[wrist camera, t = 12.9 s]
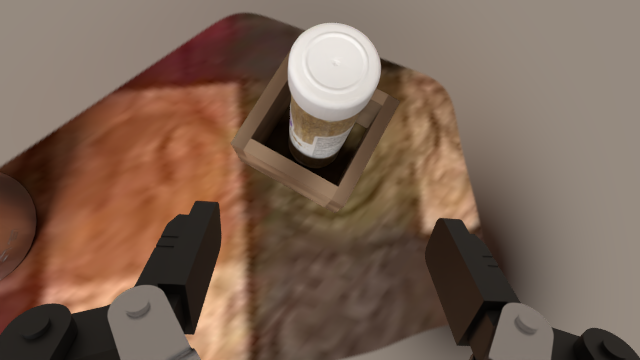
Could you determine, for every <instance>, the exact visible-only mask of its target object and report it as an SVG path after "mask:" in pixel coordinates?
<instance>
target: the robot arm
mask: <svg viewBox="0 0 640 360" xmlns="http://www.w3.org/2000/svg"><path fill="white" fill-rule="evenodd" d="M36 222H37V220H36V210H35V207H34V204H33V201H32V198H31V196H30V195H29V193H28V192H27V190H26V189H25V188H24V187H23V186H22V185H21V184H20V183H19V182H18V181H17V180H15V179H13V178H12V177H10V176H8V175H6V174H4V173H0V280H2V279H3V278H4V277H5V276H7V275H8V274H9V273H11V272H12V271H13V270H14V269H15V268H16V267H17V266H18V264H19V263H20V262H21V261H22V260H23V259H24V257H25V255H26V254H27V252H28V250H29V249H30V247H31V244H32V241H33V238H34V235H35V230H36ZM220 246H221V222H220V209H219V203H218V202H208V201H196V202H195V203H194V205H193V207H192V209H191V211H190V214H189V215H183V214H179V215H177V216H176V217H175V218H174V219H173V220H171V221H170V222H169V223H168V224H167V226H166V227H165V229H164V231H163V233H162V235H161V238H160V239H159V241H158V243H157V245H156V248H154V250H153V252H152V254H151V256H150V258H149V260H148V262H147V264H146V265H145V267H144V269H143V271H142V273H141V275H140V277H139V279H138V281H137V283H136V284H135V286H134V287H133V288H130V289H128V290H126V291H125V292H123V293H121V294H120V295H119V296H118V297H117V298H116V299H115V300H114V301H113V302H112V304H110V305H107V306H104V307H100V308H96V309H91V310H87V311H82V312H78V313H73V314H71V312H70V311H69V309H68V308H67V307H66V306H63V305H61V304H44V305H40V306H37V307H34V308H32V309H29V310H28V311H26V312H24V313H22V314H21V315H19V316H18V317H16V318H15V319H14V320H13V321H12V322H11V323H10V324H9V325H8V326H7V327H6V328H5V329H4V331H3V332H2V333H1V335H0V360H201V359H200V357H199V355H198V354H197V352H196V350H195V349H194V348H193V349H192V348H191V347H190V345H189V343H188V341H187V339H186V337H185V335H184V334H192V335H194V333H195V330H196V327H197V323H198V320H199V317H200V313H201V310H202V307H203V304H204V300H205V297H206V294H207V290H208V287H209V284H210V281H211V277H212V274H213V271H214V267H215V264H216V261H217V258H218V254H219V251H220ZM492 257H493V256H492V254H491V253H490V251H489V249H488V248H487V246H486V244H484V243H483V242H482V241H481V240H480V239H479V238H478V237H477V236H476V235H475V234H470V233H469V232H468V230H467V228H466V226H465V225H464V223H463V221H462V220H460V219H447V218H439V219H438V220H437V222H436V224H435V226H434V229H433V232H432V234H431V237H430V239H429V242H428V244H427V247H426V251H425V259H426V264H427V267H428V269H429V272H430V275H431V277H432V280H433V283H434V285H435V288H436V291H437V294H438V296H439V299H440V302H441V304H442V307H443V310H444V312H445V315H446V318H447V320H448V323H449V326H450V328H451V331H452V333H453V336H454V339H455V342H456V344H457V345H459V346H471V349H472V352H473V354H472V355H471V357H470V359H469V360H640V358H639V356H638V355H637V354H636V353H635V351H634V350H633V349H632V348H631V347H630V346H629V345H628V344H627V343H626V342H624V341H623V340H622V339H620V338H619V337H617V336H616V335H614V334H612V333H610V332H608V331H606V330H602V329H598V328H590V329H587V330H586V331H585V332H584V333H583V334H582V335H581V336H576V335H573V334H570V333H567V332H564V331H561V330H558V329H555V328H552V327H551V326H550V324H549V323H548V322H547V320H546V319H545V318H544V317H543V316H542V315H541V314H539V313H538V312H537V311H536V310H534V309H532V308H531V307H529V306H526V305H524V304H521V303H520V301H519V300H518V298H517V296H516V294H515V293H514V291H513V289H512V288H511V286H510V284H509V283H508V281H507V279H506V278H505V276H504V274H503V273H502V271H501V269H500V268H498V264H497V263H496V261H495V259H493V258H492Z"/></svg>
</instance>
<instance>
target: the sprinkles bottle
mask: <svg viewBox="0 0 640 360" xmlns="http://www.w3.org/2000/svg"><path fill="white" fill-rule="evenodd" d="M380 75H381V63H380V58H379V55H378V52H377V50H376V48H375V46H374V44H373V43H372V42H371V41H370V39H369V38H368V37H367V36H366V35H364V34H363V33H362V32H361V31H359V30H357V29H356V28H354V27H352V26H349V25H346V24H341V23H323V24H319V25H316V26H313V27H311V28H309V29H308V30H306V31H305V32H304V33H302V34H301V35H300V36H299V37H298V39H297V40H296V41H295V43H294V44H293V46H292V48H291V51H290V54H289V61H288V85H289V88H290V92H291V104H290V126H289V132H290V134H289V138H288V146H289V150H290V152H291V154H292V156H293V157H294V159H295V160H296V161H297V162H299V163H300V164H301V165H303V166H306V167H309V168H321V167H325V166H327V165H329V164H330V163H331V162H333V161H334V160H335V159H336V157H337V155H338V153H339V151H340V148H341V147H342V145H343V143H344V142H345V140H346V138H347V136H348V134H349V133H350V131H351V129H352V127H353V125H354V123H355V122H356V120H357V117H358V114H359V112H360V111H361V110H362V109H363V108H364V107H365V106H366V105H367V104H368V102H369V100H370V99H371V97H372V95H373V93H374V91H375V89H376V87H377V85H378V83H379V79H380Z"/></svg>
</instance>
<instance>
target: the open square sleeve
mask: <svg viewBox="0 0 640 360" xmlns="http://www.w3.org/2000/svg"><path fill="white" fill-rule="evenodd" d="M290 51H291V50H290ZM290 51H289V53H288V55H287V56H286V58H285V59H284V61H283V62H282V64H281V65H280V67H279V69H278V70H277V72H276V73H275V75H274V76H273V78H272V80H271V81H270V83H269V84H268V86H267V87H266V89H265V90H264V92H263V94H262V95H261V97H260V98H259V100H258V101H257V103H256V104H255V106H254V108H253V109H252V111H251V112H250V114H249V115H248V117H247V118H246V120H245V122H244V123H243V125H242V126H241V128H240V129H239V131H238V133H237V134H236V136H235V137H234V139H233V140H232V142H231V145H232V146H233V148H234V150H235V152H236V153H237V155H238V157H239V158H240V160H241V161H242V162H244V163H246V164H248V165H249V166H251V167H253V168H255V169H257V170H258V171H260V172H262V173H264V174H266V175H267V176H269V177H271V178H273V179H274V180H276V181H278V182H280V183H282V184H283V185H285V186H287V187H289V188H291V189H292V190H294V191H296V192H298V193H300V194H301V195H303V196H305V197H307V198H309V199H310V200H312V201H314V202H316V203H318V204H319V205H321V206H323V207H325V208H327V209H328V210H330V211H332V212H334V213H336V212H337V211H338V210H340V209H341V208H343V207H344V206H345V204H346V202H347V200H348V199H349V197H350V195H351V193H352V191H353V189H354V187H355V185H356V183H357V182H358V180H359V178H360V176H361V174H362V172H363V170H364V168H365V167H366V165H367V163H368V161H369V159H370V157H371V155H372V153H373V152H374V150H375V148H376V146H377V144H378V142H379V140H380V138H381V137H382V135H383V133H384V131H385V129H386V127H387V125H388V123H389V121H390V120H391V118H392V116H393V114H394V112H395V110H396V108H397V106H398V105H399V103H400V101H399V100H397V99H395V98H393V97H392V96H390V95H388V94H386V93H384V92H382V91H381V90H379V89H377V88H376V89H375V91H374V93H373V95H372V97H371V99H370V100H369V102H368V104H367V105H366V106H365V107H364V108H363V109H362V110H361V111H360V112H359V114H358V117H357V120H356V123H358V124H360V125H362V126H364V127H365V128H367V130H366V132H365V134H364V135H363V137H362V139H361V141H360V143H359V145H358V146H357V148H356V150H355V152H354V154H353V156H352V157H351V159H350V161H349V163H348V165H347V167H346V168H345V170H344V172H343V174H342V176H341V178H340V179H339V181H338V183H337V185H334V184H332V183H330V182H329V181H327V180H325V179H323V178H321V177H320V176H318V175H316V174H314V173H312V172H311V171H309V170H307V169H305V168H303V167H302V166H300V165H298V164H296V163H294V162H293V161H291V160H289V159H287V158H285V157H284V156H282V155H280V154H278V153H276V152H275V151H273V150H271V149H269V148H267V147H266V146H264V145H265V144H266V142H267V140H268V139H269V137H270V135H271V134H272V132H273V131H274V129H275V127H276V126H277V124H278V122H279V121H280V119H281V118H282V116H283V114H284V113H285V111H286V109H287V108H288V106H289V105H290V103H291V92H290V88H289V85H288V61H289V54H290Z"/></svg>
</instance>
